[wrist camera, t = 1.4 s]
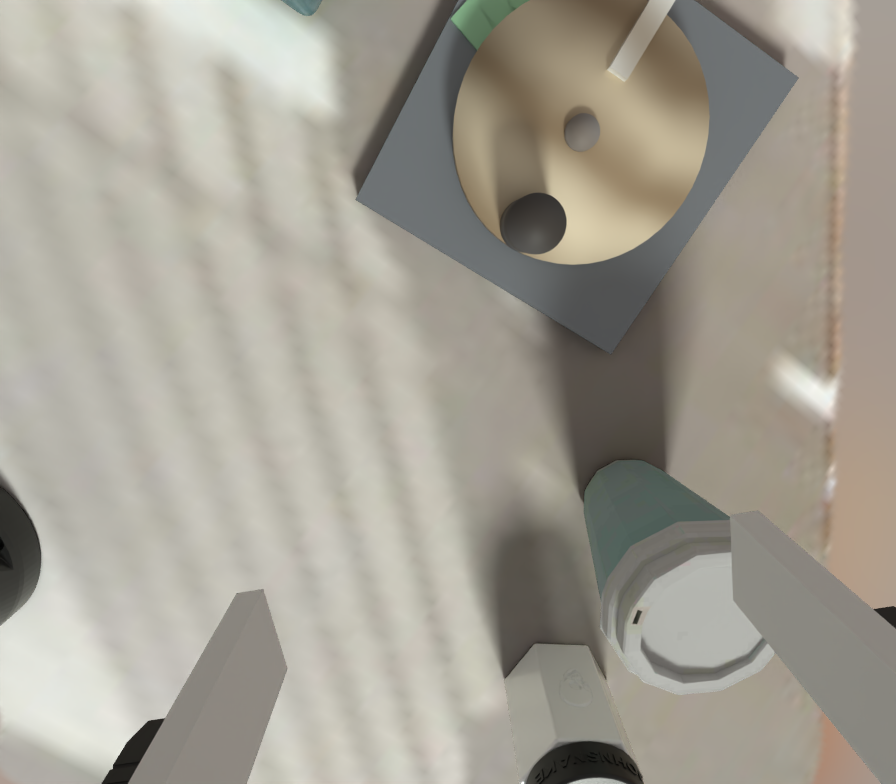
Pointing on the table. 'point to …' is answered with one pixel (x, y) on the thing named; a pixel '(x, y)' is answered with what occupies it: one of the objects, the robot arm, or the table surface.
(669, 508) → the disposable coffee cup
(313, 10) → the flower pot
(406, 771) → the table surface
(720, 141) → the tuner base
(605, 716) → the jar
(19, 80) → the table surface
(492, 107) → the dial
